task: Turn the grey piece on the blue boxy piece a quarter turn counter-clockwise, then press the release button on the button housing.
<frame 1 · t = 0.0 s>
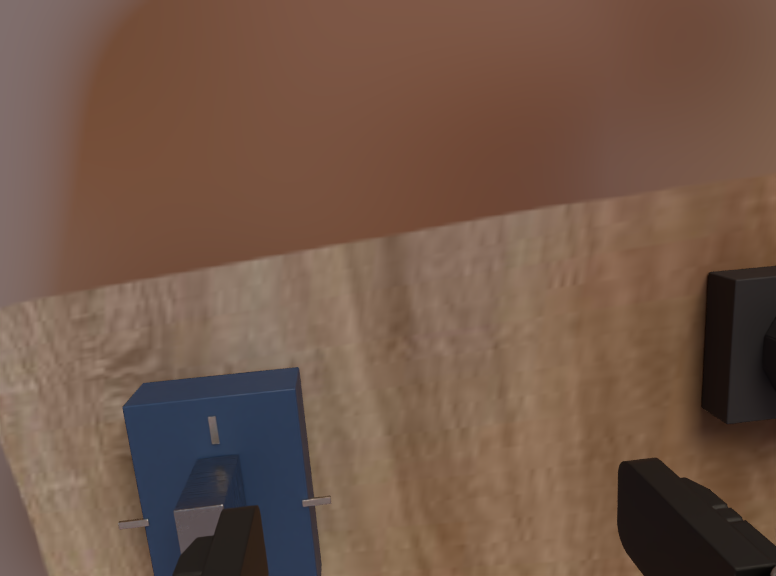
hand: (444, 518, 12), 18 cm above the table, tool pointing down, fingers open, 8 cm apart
grey piece: (217, 541, 26), point 5 cm above the table, hinge at 0.0°
blue boxy piece: (236, 478, 31), on the table
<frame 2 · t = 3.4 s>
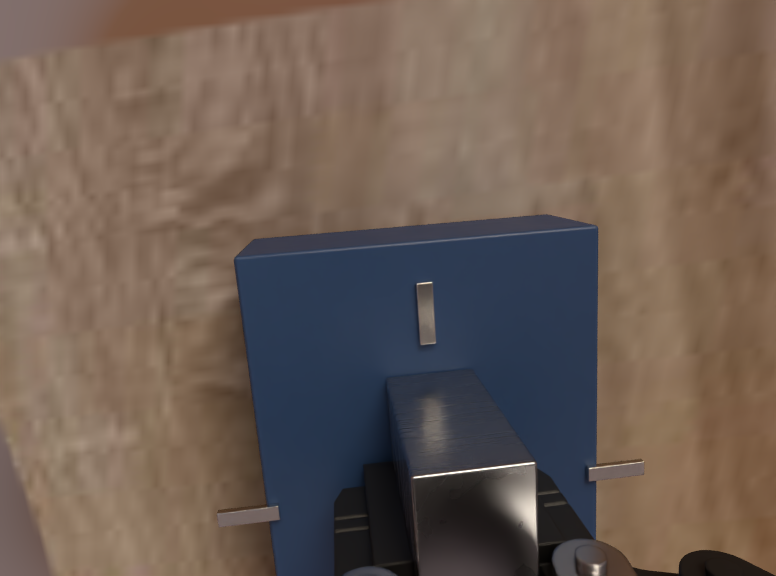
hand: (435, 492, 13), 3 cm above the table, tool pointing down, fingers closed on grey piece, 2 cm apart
grey piece: (456, 553, 11), point 5 cm above the table, hinge at 0.1°, touching gripper
blue boxy piece: (417, 432, 16), on the table
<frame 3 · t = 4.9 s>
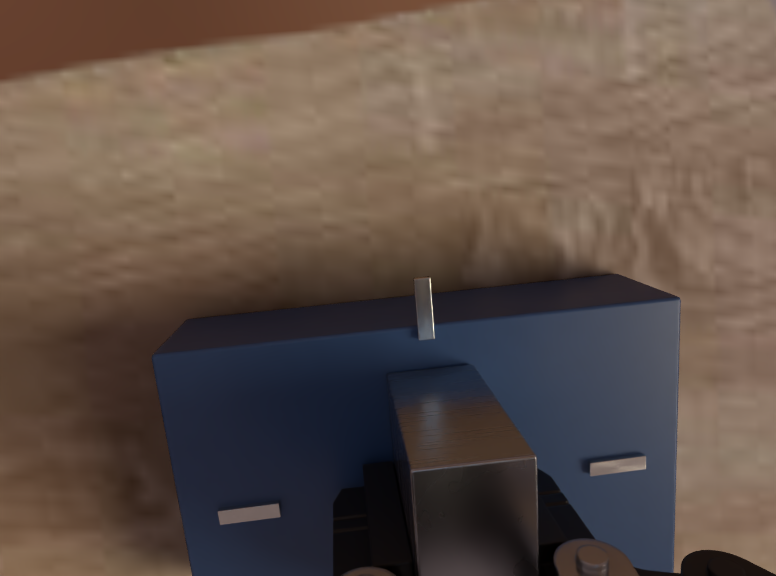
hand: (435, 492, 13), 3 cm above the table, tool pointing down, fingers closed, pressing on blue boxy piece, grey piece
grey piece: (456, 549, 11), point 5 cm above the table, hinge at 89.3°, touching gripper
blue boxy piece: (418, 429, 16), on the table
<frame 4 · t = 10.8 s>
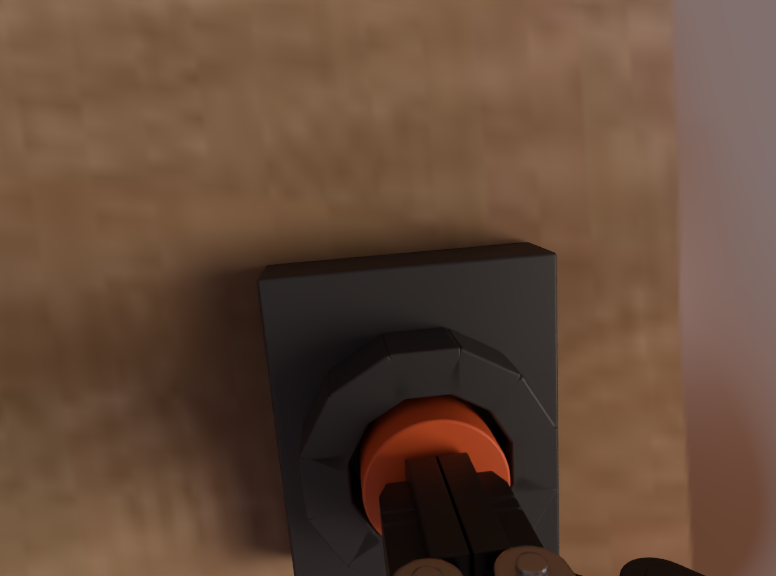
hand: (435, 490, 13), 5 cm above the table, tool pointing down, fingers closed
button housing: (411, 407, 18), on the table
release button: (431, 470, 14), point 4 cm above the table, slide at -0.5 cm, touching gripper
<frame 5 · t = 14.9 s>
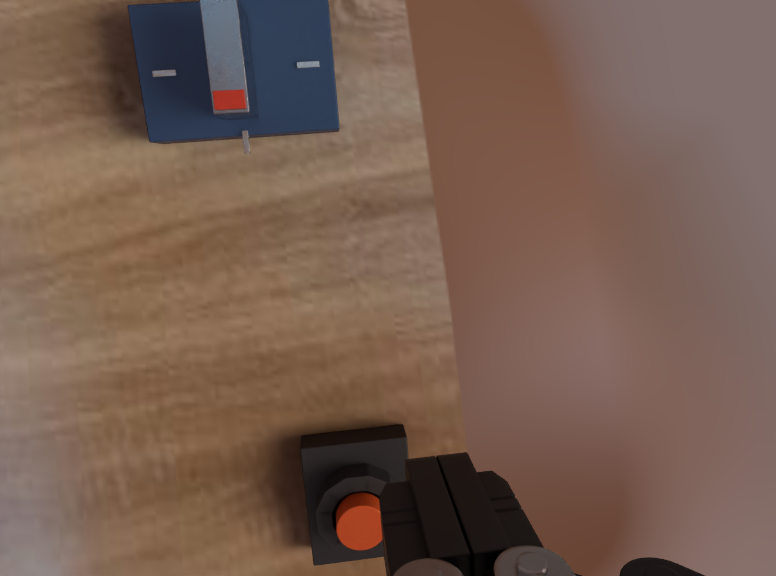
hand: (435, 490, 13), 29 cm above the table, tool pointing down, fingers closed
grey piece: (231, 62, 33), point 5 cm above the table, hinge at 89.3°
button housing: (358, 486, 45), on the table
blue boxy piece: (244, 76, 38), on the table
release button: (361, 521, 41), point 4 cm above the table, slide at 0.1 cm
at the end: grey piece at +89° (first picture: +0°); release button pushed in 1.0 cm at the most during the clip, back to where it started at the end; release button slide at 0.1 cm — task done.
